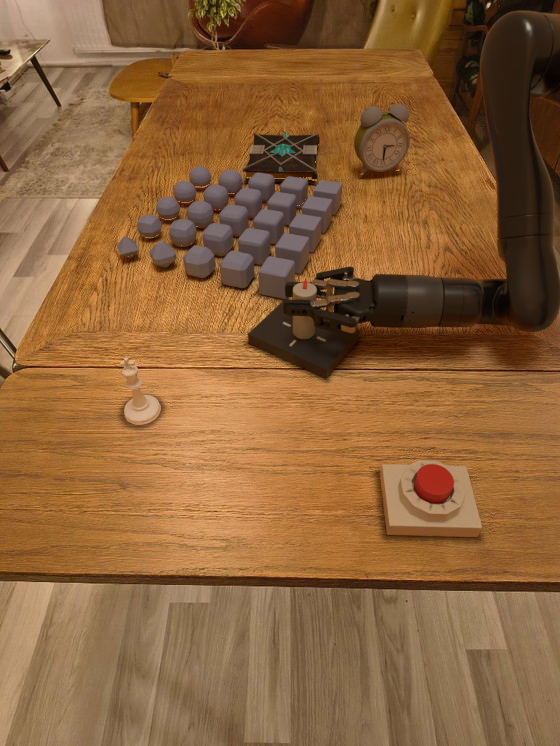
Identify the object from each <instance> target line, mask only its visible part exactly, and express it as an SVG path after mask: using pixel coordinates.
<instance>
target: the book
mask: <svg viewBox="0 0 560 746" xmlns="http://www.w3.org/2000/svg"><path fill="white" fill-rule="evenodd" d="M320 141H321V140H320V133H319V132H316V133H315V134H299V135H297V134H293V135H291V134H289V132H287V131H284V133H282V134H259V133H257V132H256V131H254V132H253V143H252V144H251V146H250V149H249V152H248V155H249V156H248V157H249V160H248V161H247V163H246V165H245V166H244V167H243V168H242V169H241V170H242V173H245V179H246V180H244V179H243V183H244V184H248V182H249V180H250V178H246V177H252V176H253V175H254V174H255V173H265V174H271V175H272V176H273V177H274V178H286V177H288V176H291V177H298V178H299V177H301V178H303V177H304V178H306V177H312V179H317V181H312V180H308V184H312V185H313V186H317V184H318V170H317V164H318V163H317V161H318V150H317V148H318V149H319V147H320ZM318 144H319V146H318ZM316 160H317V161H316ZM315 161H316V163H315ZM274 180H275V182H277V183H283V181H284V180H285V179H274Z"/></svg>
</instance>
